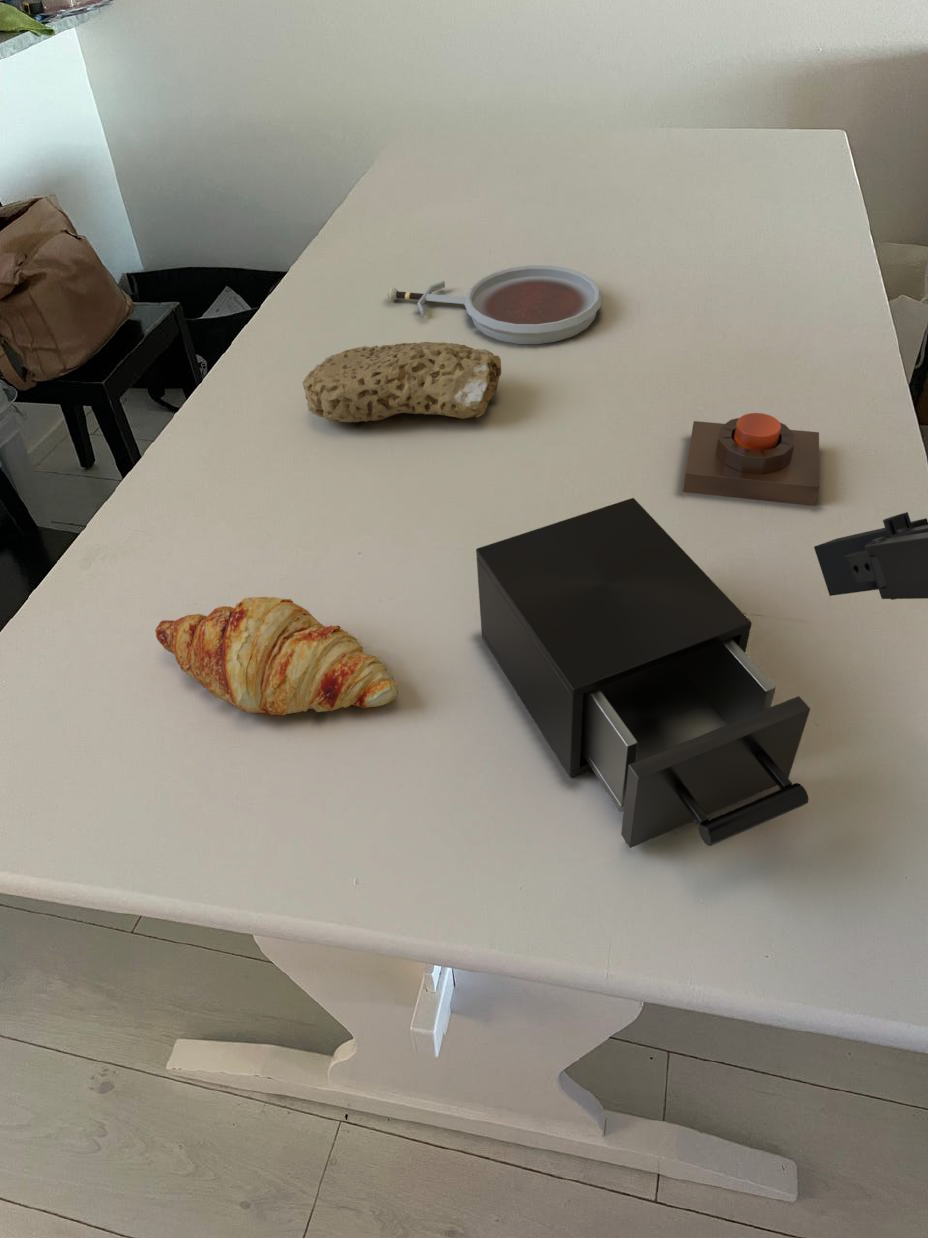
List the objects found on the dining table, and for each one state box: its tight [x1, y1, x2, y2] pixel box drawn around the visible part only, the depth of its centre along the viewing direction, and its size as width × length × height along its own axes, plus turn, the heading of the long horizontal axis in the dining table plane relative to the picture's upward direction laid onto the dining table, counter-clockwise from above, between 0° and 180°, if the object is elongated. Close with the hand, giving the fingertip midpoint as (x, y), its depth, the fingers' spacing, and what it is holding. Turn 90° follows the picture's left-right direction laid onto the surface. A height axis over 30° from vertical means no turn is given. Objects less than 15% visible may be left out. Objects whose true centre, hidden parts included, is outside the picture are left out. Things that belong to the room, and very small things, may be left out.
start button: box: [734, 412, 781, 451], centre depth 87 cm, size 4×4×2 cm
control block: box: [682, 417, 820, 507], centre depth 89 cm, size 12×9×4 cm
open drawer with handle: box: [581, 638, 811, 849], centre depth 63 cm, size 19×12×8 cm, turn 23°
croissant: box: [154, 596, 399, 716], centre depth 73 cm, size 21×10×8 cm, turn 72°
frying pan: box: [386, 264, 603, 345], centre depth 116 cm, size 17×3×28 cm
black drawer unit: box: [475, 497, 752, 778], centre depth 69 cm, size 16×14×10 cm
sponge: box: [302, 341, 502, 423], centre depth 99 cm, size 13×8×20 cm
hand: (833, 567), depth 48 cm, fingers closed
